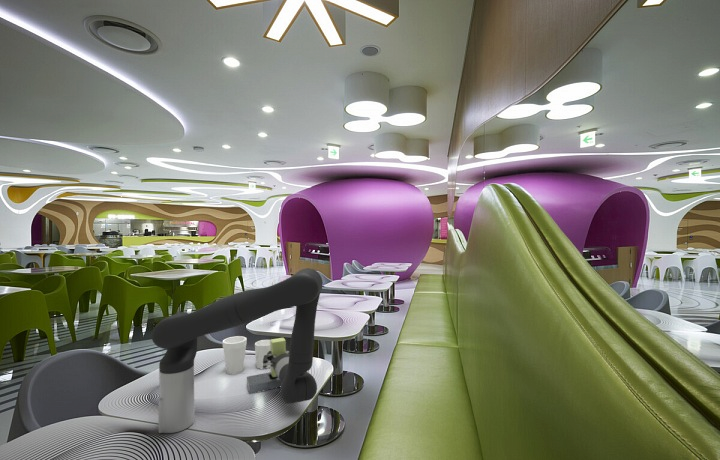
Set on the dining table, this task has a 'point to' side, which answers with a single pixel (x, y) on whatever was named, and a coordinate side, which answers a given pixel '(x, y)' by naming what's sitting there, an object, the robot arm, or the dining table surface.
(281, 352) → the olive green rectangular block
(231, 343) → the foam cup
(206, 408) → the dining table surface
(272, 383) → the grey flat block
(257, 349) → the white cup
